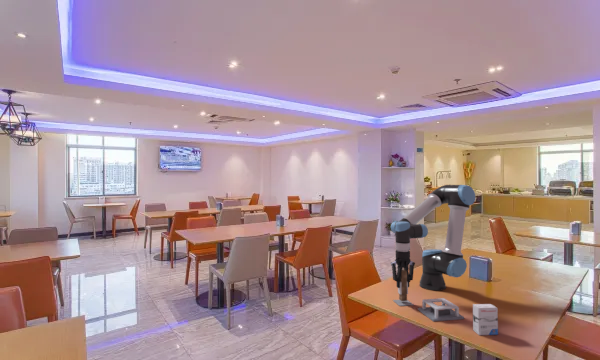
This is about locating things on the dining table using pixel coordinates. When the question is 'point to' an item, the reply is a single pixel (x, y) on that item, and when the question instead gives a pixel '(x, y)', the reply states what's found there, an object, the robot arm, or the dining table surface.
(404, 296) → the walnut rod
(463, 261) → the robot arm
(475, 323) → the ink box
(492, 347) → the dining table surface
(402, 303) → the mat
